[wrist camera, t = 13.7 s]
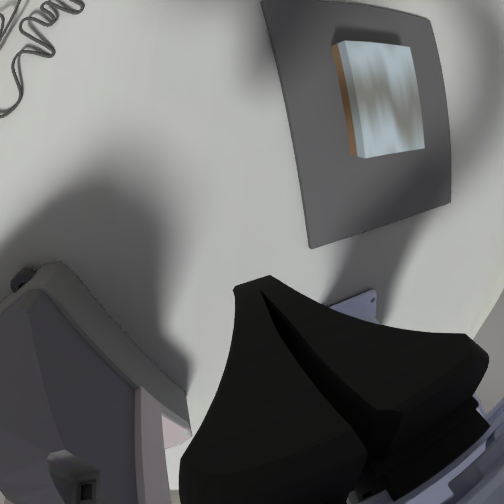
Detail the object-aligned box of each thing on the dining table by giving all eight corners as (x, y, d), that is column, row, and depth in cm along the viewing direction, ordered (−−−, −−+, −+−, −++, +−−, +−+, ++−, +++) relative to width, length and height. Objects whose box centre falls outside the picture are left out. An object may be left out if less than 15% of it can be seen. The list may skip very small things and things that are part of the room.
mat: (447, 201, 24) (450, 202, 23) (308, 247, 21) (311, 249, 21) (426, 20, 16) (429, 20, 15) (260, 2, 13) (262, -1, 13)
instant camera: (55, 440, 24) (48, 539, 11) (-57, 315, 15) (-118, 420, 1) (202, 411, 26) (235, 543, 13) (89, 232, 17) (-14, 429, 4)
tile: (424, 148, 18) (365, 158, 17) (409, 145, 20) (350, 155, 19) (409, 47, 15) (344, 40, 14) (394, 50, 16) (330, 46, 15)
